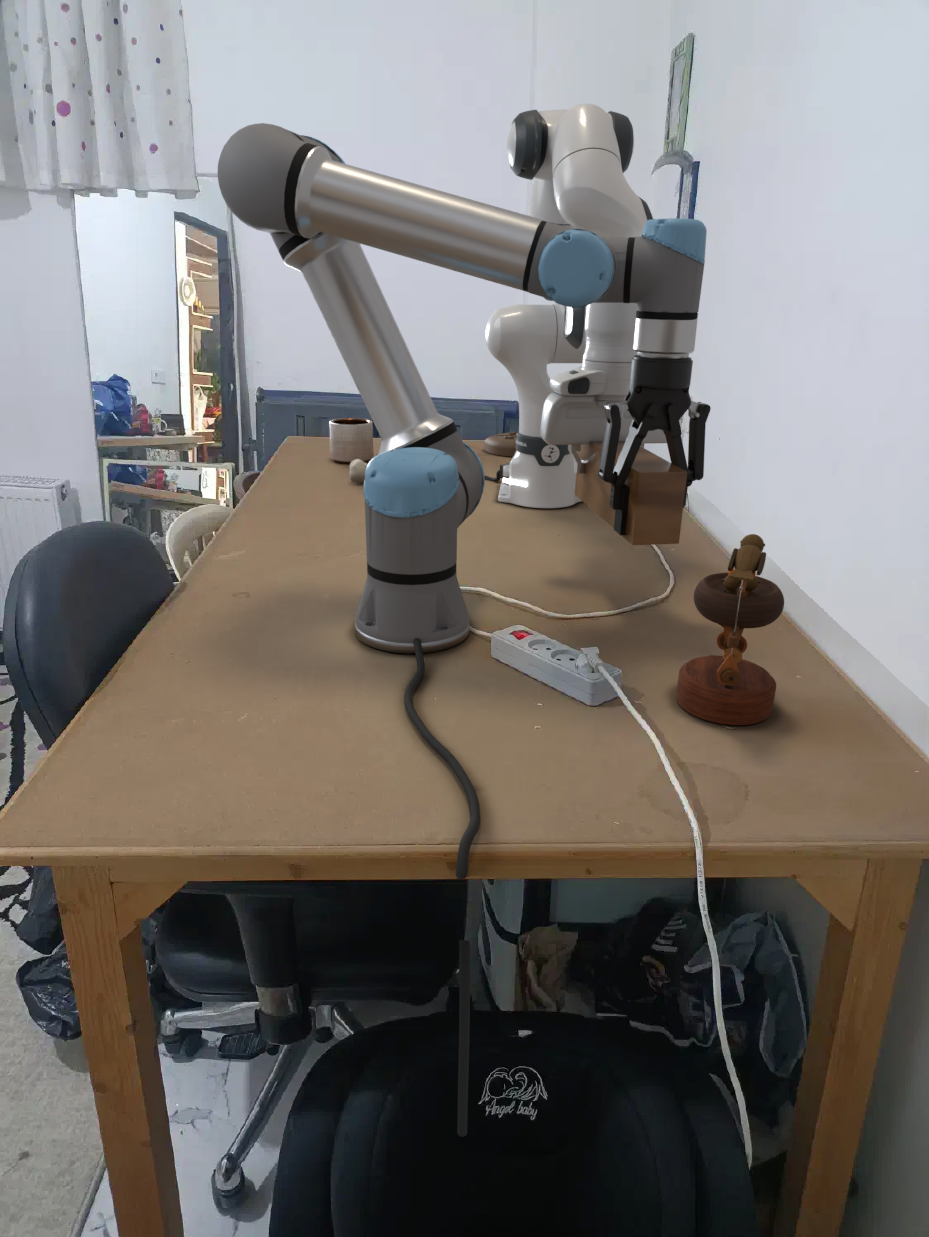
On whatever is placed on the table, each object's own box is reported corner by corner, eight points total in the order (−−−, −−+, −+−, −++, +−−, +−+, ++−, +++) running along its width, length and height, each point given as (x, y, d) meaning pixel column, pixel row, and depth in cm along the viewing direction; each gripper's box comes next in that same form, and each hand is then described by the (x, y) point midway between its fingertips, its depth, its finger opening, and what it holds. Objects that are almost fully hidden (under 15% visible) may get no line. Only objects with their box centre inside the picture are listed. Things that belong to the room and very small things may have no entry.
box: (679, 543, 112) (687, 471, 108) (632, 545, 111) (639, 472, 107) (613, 493, 137) (618, 434, 133) (574, 494, 136) (578, 434, 132)
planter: (327, 456, 217) (325, 418, 214) (369, 454, 220) (368, 417, 217) (334, 465, 208) (332, 425, 204) (377, 463, 211) (376, 424, 207)
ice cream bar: (489, 466, 209) (490, 449, 208) (482, 444, 235) (482, 429, 234) (574, 466, 210) (575, 449, 209) (557, 445, 236) (558, 430, 234)
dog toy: (435, 477, 197) (435, 455, 195) (438, 483, 192) (439, 461, 190) (348, 478, 194) (347, 457, 192) (349, 485, 189) (348, 462, 187)
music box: (791, 736, 88) (807, 553, 81) (683, 736, 90) (689, 557, 82) (760, 672, 102) (771, 512, 95) (667, 673, 104) (671, 515, 96)
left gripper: (722, 352, 111) (700, 522, 120) (579, 351, 108) (568, 526, 117) (749, 357, 104) (724, 537, 113) (597, 357, 101) (583, 542, 110)
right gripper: (669, 377, 130) (660, 467, 135) (540, 378, 127) (535, 469, 132) (685, 382, 124) (675, 475, 129) (550, 383, 121) (545, 478, 126)
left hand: (644, 531), depth 115 cm, fingers closed on box, 6 cm apart
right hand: (603, 472), depth 131 cm, fingers closed on box, 6 cm apart
